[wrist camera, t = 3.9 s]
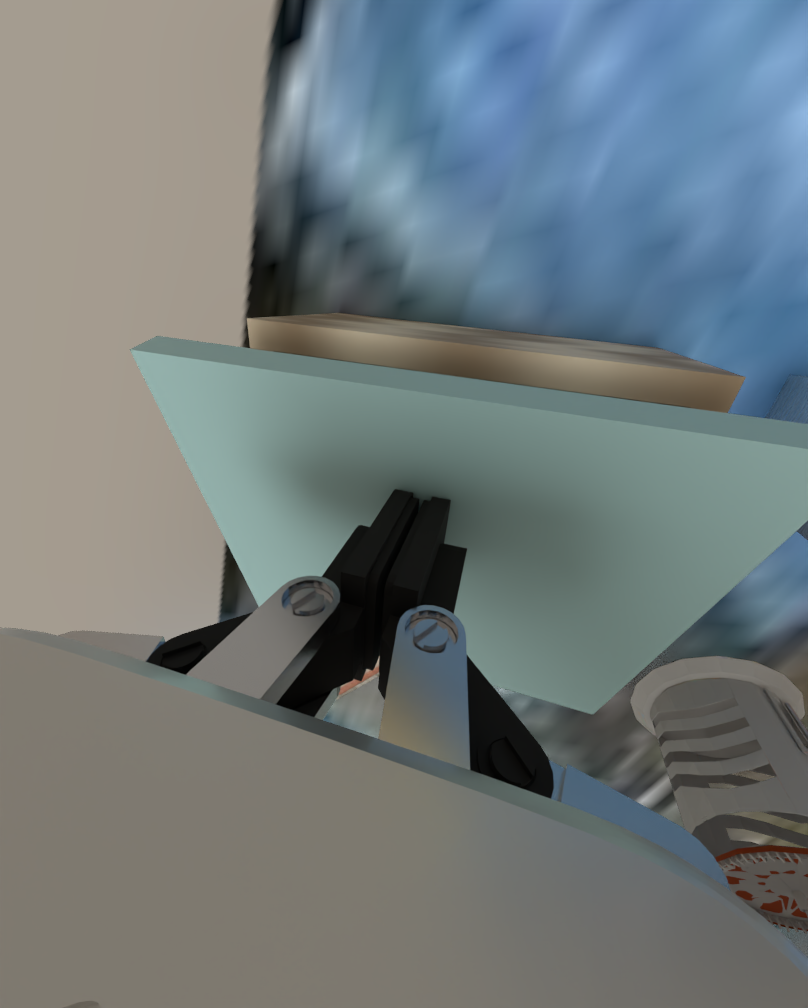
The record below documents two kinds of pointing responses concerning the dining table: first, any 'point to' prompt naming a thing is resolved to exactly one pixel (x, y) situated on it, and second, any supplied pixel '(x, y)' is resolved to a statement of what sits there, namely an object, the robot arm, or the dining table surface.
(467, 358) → the storage box
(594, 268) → the dining table surface
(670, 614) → the lid
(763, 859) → the french press
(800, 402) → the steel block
